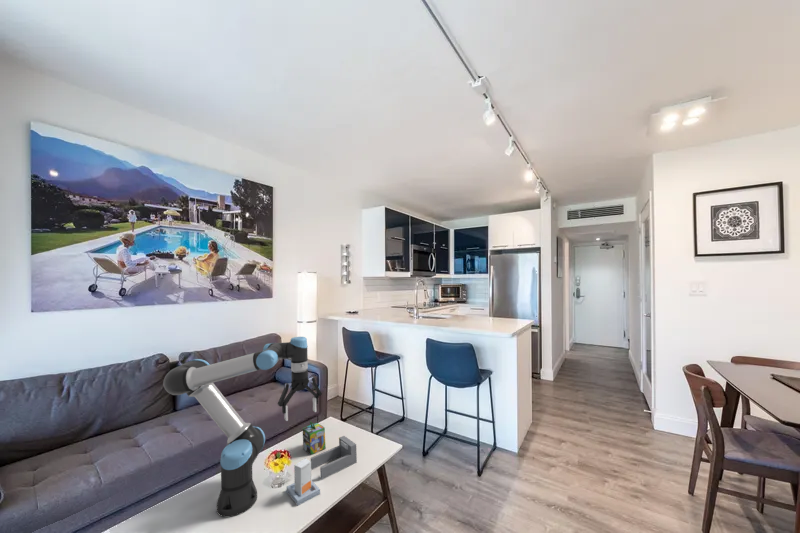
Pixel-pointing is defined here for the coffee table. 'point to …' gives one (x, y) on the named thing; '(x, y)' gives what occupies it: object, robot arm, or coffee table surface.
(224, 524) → the coffee table surface
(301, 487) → the skincare box
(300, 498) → the tray
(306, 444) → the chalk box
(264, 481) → the coffee table surface
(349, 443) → the dock
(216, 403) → the robot arm
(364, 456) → the coffee table surface
